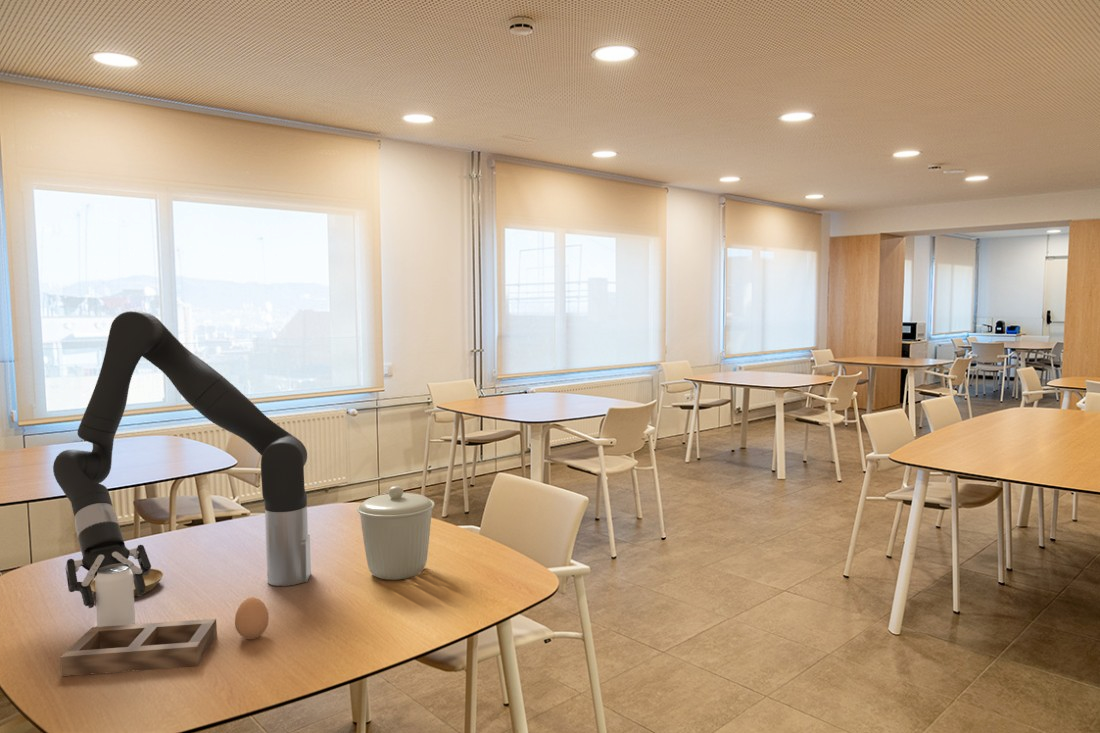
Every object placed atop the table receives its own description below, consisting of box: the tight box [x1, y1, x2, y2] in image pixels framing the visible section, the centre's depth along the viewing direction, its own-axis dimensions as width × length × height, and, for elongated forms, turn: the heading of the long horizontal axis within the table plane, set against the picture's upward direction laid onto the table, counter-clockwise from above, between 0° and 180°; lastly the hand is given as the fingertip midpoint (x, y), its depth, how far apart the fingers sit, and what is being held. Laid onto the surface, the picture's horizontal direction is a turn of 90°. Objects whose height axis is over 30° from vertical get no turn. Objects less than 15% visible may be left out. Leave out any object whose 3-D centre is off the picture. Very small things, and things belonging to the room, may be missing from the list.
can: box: [94, 564, 136, 627], centre depth 145 cm, size 6×6×12 cm
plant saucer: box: [90, 567, 164, 597], centre depth 165 cm, size 15×15×3 cm
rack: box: [59, 618, 218, 677], centre depth 133 cm, size 22×12×4 cm, turn 99°
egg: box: [234, 596, 270, 640], centre depth 140 cm, size 6×6×8 cm
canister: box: [356, 485, 436, 581], centre depth 174 cm, size 18×18×21 cm
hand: (116, 599), depth 144 cm, fingers open, 8 cm apart
